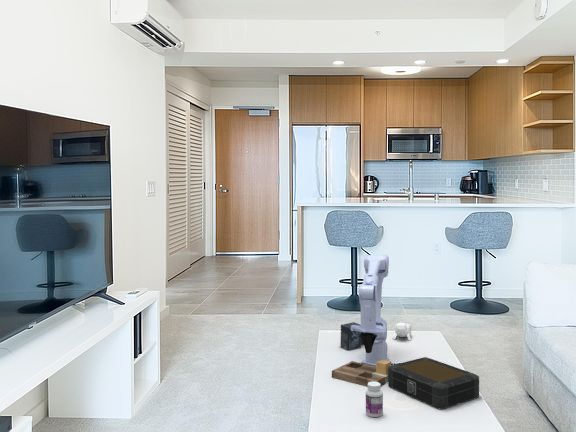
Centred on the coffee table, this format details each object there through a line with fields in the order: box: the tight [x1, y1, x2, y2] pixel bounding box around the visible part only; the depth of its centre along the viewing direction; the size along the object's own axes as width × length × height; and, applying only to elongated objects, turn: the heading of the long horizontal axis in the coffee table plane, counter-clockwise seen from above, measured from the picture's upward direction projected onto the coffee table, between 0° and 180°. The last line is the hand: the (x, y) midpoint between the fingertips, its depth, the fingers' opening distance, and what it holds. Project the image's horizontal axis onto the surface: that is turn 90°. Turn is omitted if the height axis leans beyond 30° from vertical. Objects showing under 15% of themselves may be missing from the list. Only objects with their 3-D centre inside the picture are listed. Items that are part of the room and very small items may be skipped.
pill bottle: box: [365, 382, 384, 418], centre depth 162 cm, size 5×5×10 cm
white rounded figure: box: [392, 322, 412, 341], centre depth 244 cm, size 8×8×15 cm
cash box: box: [387, 356, 480, 410], centre depth 179 cm, size 25×20×8 cm
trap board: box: [331, 360, 388, 388], centre depth 194 cm, size 14×19×2 cm
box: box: [340, 321, 362, 352], centre depth 231 cm, size 8×6×11 cm
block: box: [375, 360, 392, 375], centre depth 192 cm, size 4×4×4 cm
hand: (368, 352), depth 196 cm, fingers closed
